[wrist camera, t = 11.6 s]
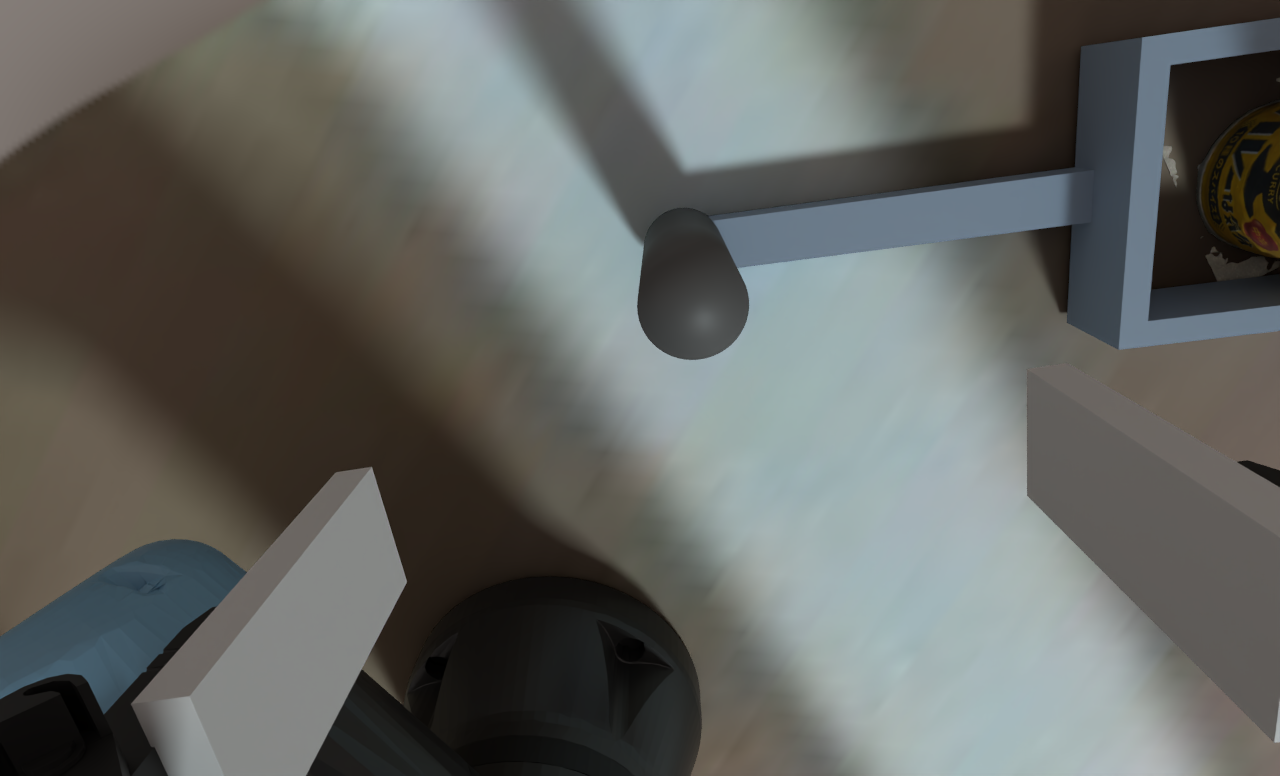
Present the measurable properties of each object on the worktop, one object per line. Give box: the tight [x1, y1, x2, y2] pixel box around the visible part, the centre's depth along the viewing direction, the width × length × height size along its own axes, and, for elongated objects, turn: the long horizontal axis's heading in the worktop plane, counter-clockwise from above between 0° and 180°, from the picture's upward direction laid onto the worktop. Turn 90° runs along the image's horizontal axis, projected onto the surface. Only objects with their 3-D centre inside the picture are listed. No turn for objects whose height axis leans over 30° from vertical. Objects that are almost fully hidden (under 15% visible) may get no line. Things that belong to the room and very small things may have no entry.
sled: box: [637, 18, 1280, 360], centre depth 27 cm, size 30×11×11 cm, turn 98°
